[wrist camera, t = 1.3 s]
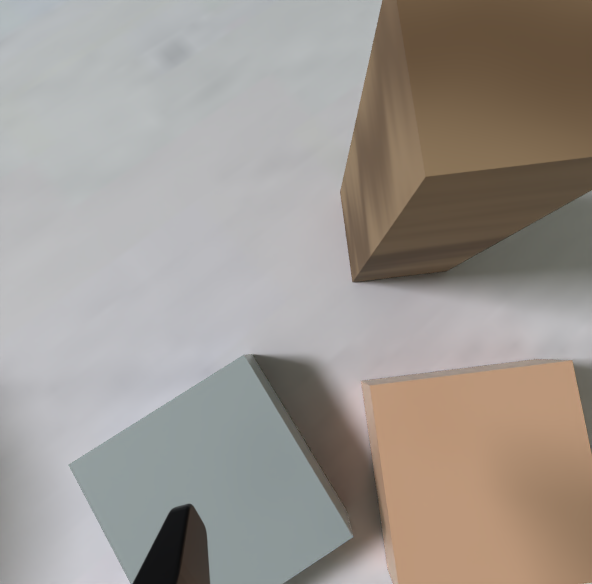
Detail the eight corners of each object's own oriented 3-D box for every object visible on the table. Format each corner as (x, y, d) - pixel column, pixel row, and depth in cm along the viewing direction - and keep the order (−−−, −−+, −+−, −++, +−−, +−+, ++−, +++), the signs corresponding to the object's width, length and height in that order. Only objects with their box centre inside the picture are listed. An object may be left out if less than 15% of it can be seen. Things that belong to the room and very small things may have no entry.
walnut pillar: (446, 271, 23) (666, 147, 9) (352, 282, 23) (425, 176, 9) (432, 181, 23) (615, -65, 10) (340, 192, 23) (390, -37, 10)
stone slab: (346, 510, 21) (353, 537, 18) (189, 614, 21) (169, 658, 18) (251, 354, 22) (243, 354, 19) (100, 449, 22) (68, 464, 19)
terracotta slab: (573, 546, 21) (617, 579, 18) (387, 569, 21) (401, 605, 18) (536, 359, 22) (572, 360, 19) (360, 380, 22) (369, 385, 19)
